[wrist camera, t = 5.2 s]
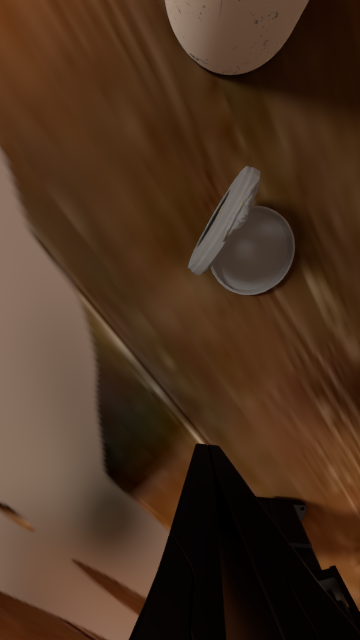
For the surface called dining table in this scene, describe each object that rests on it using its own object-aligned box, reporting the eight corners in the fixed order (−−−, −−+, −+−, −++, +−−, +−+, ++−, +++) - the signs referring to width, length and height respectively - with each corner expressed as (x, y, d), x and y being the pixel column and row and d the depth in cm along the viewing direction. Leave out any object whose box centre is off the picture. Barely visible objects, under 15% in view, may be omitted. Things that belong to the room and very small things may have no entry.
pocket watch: (286, 289, 20) (384, 328, 11) (188, 297, 20) (197, 341, 11) (293, 181, 18) (426, 106, 8) (181, 190, 18) (186, 126, 8)
